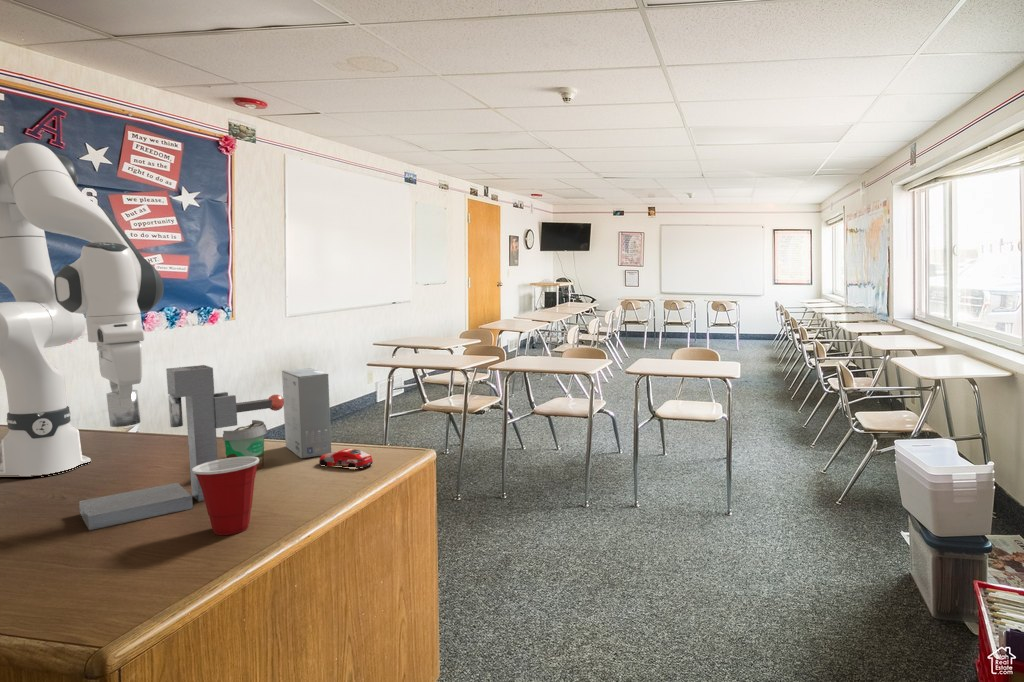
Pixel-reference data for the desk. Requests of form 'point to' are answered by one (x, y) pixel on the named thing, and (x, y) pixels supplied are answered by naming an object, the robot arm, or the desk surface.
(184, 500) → the press
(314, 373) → the hard drive box
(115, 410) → the cylinder
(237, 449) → the food container
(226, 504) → the plastic cup
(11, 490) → the desk surface
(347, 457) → the race car
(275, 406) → the lever
